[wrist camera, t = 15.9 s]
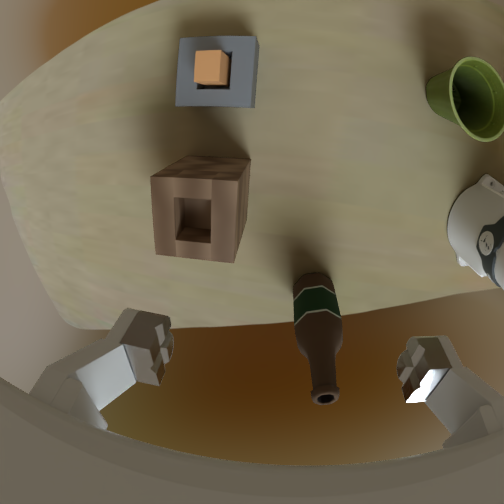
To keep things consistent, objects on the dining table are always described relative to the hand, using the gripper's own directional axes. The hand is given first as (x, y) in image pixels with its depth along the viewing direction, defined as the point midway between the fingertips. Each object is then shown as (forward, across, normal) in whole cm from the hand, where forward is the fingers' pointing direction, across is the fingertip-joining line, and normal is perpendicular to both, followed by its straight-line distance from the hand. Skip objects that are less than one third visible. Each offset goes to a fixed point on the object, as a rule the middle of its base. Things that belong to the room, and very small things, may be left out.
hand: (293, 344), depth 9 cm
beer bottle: (+37, +8, -23) cm, 45 cm away
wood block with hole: (+37, -10, -6) cm, 39 cm away
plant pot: (+37, +25, +15) cm, 47 cm away
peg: (+35, -10, +12) cm, 38 cm away
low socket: (+37, -10, +12) cm, 40 cm away
